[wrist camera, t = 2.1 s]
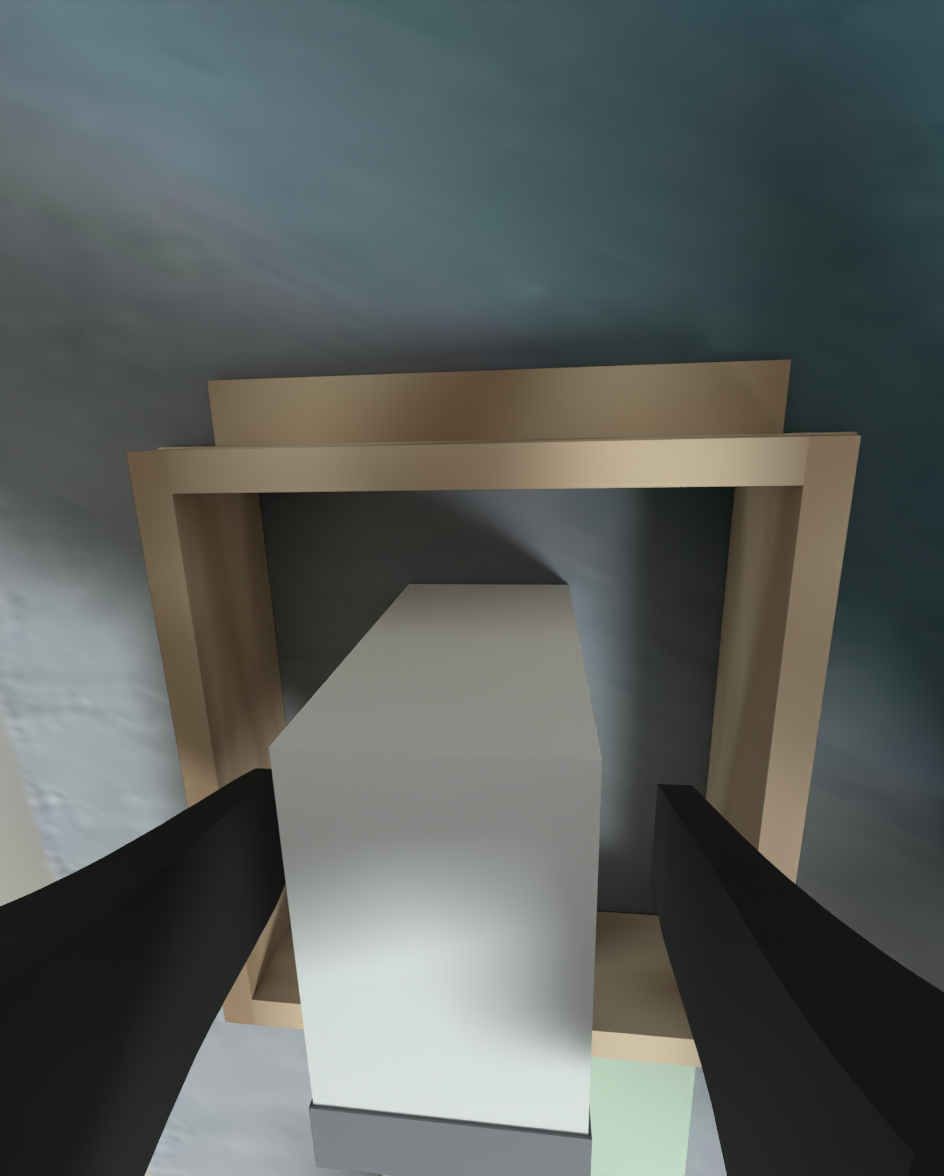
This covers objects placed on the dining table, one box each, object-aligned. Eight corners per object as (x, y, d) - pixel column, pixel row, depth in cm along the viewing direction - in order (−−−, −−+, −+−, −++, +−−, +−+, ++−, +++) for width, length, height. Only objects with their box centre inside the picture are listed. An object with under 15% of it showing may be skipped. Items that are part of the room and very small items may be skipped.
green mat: (695, 1022, 17) (699, 1035, 17) (673, 1246, 20) (675, 1262, 20) (369, 994, 19) (365, 1006, 18) (388, 1209, 21) (385, 1223, 21)
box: (570, 584, 14) (607, 762, 7) (565, 831, 16) (589, 1200, 8) (407, 583, 15) (262, 749, 7) (420, 824, 17) (316, 1166, 9)
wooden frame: (860, 358, 12) (979, 332, 9) (771, 988, 17) (828, 1128, 13) (155, 383, 14) (36, 370, 11) (243, 946, 19) (178, 1060, 15)
